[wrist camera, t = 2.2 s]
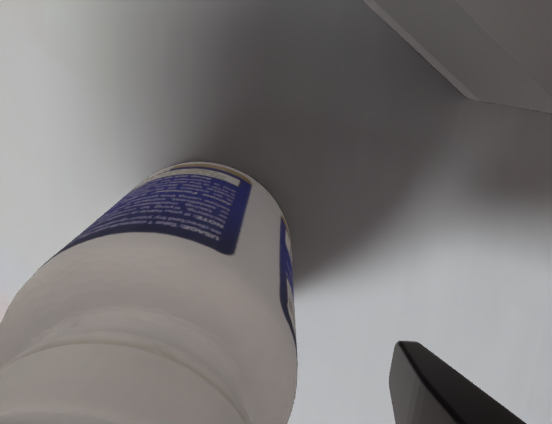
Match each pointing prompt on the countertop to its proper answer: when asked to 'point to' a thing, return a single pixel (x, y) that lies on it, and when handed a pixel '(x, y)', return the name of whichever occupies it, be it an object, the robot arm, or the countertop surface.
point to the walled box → (482, 45)
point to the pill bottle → (160, 312)
